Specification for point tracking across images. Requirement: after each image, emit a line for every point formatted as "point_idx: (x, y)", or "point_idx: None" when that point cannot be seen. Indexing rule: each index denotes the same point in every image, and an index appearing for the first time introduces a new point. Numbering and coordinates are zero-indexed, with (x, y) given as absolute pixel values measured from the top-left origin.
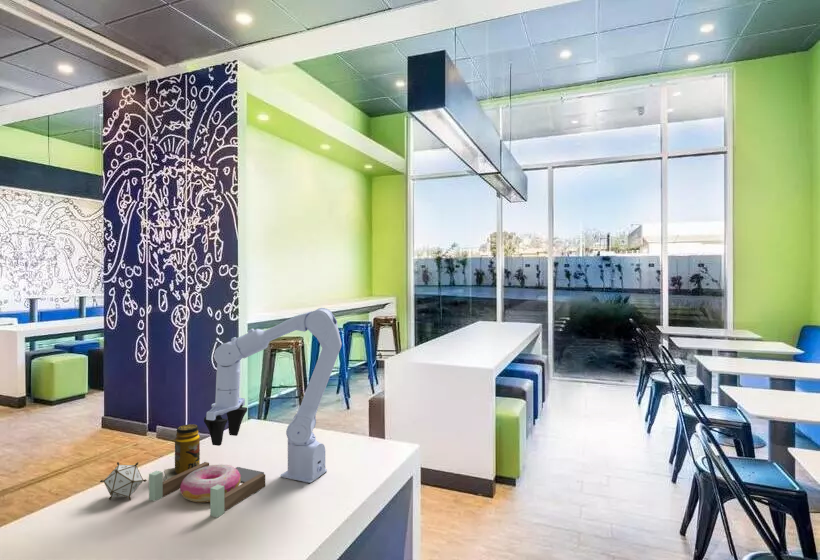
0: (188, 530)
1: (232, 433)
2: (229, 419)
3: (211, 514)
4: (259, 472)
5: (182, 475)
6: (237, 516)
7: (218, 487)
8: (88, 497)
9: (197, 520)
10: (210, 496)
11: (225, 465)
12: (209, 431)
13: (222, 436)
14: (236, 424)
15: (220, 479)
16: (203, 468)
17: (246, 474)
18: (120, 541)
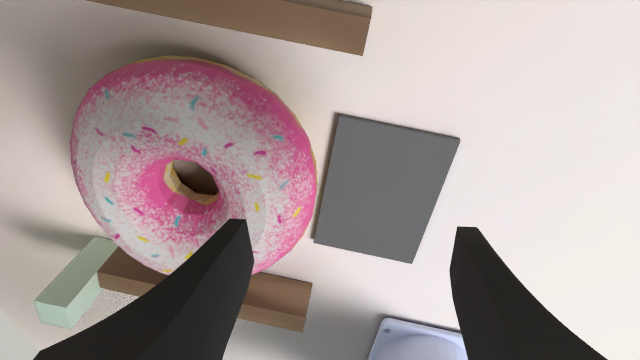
0: (15, 222)
1: (457, 257)
2: (498, 332)
3: (93, 241)
4: (407, 250)
5: (168, 16)
6: (130, 294)
7: (53, 319)
8: None
9: (59, 217)
10: (55, 278)
11: (264, 223)
12: (157, 287)
13: (230, 320)
14: (473, 344)
15: (150, 261)
16: (202, 139)
17: (379, 214)
18: None
